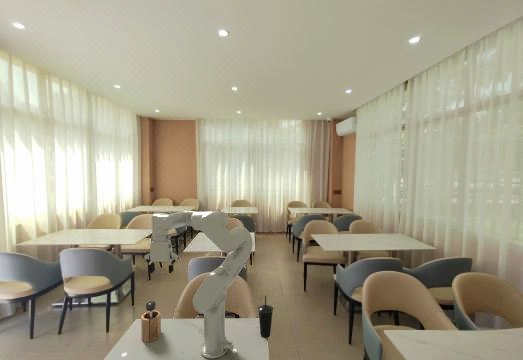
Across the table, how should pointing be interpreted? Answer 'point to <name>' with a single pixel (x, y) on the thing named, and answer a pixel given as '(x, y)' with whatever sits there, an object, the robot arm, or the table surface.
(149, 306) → the plunger
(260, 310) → the drinking cup
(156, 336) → the brown faceted holder
